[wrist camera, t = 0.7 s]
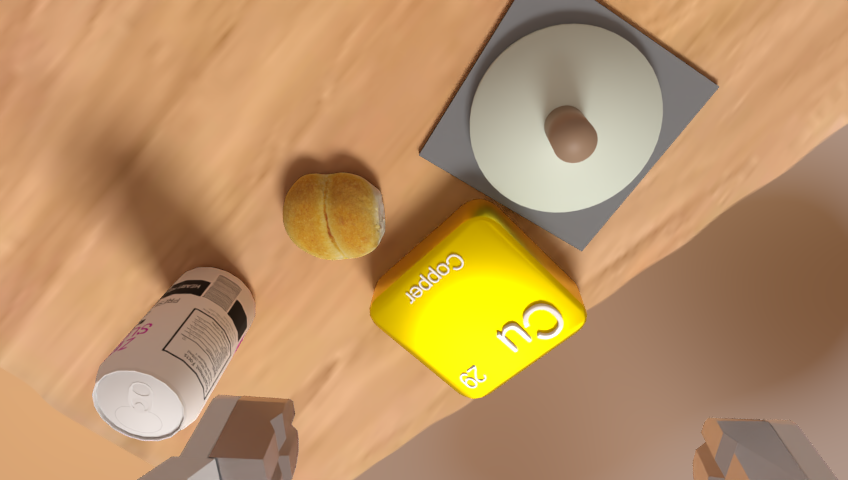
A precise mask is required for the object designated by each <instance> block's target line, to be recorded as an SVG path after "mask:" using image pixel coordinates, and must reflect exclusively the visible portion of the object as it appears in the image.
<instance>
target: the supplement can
mask: <svg viewBox="0 0 848 480" xmlns="http://www.w3.org/2000/svg"><path fill="white" fill-rule="evenodd" d="M254 317H255V301H254V299H253V296H252V294H251V292H250V290H249V289H248V288H247V287H246V286H245V284H244V283H243V282H242V281H241V280H240V279H238V278H237V277H235V276H234V275H232V274H230V273H229V272H227V271H224V270H220V269H217V268H214V267H197V268H195V269H192V270H189V271H187V272H185V273H184V274H183V275H182V276H181V277H180V278H179V279H178V280H177V281H176V282H175V283H174V284H173V285H172V286H171V287H170V288H169V290H168V291H167V292H166V293H165V294H164V295H163V296H162V297H161V298H160V300H159V301H158V302H157V303H156V304H155V305H154V306H153V307H152V308H151V310H150V311H149V312H148V313H147V314H146V315H145V316H144V317H143V318H142V319H141V321H140V322H139V323H138V324H137V325H136V326H135V327H134V328H133V329H132V331H131V332H130V333H129V334H128V335H127V336H126V337H125V338H124V339H123V341H122V342H121V343H120V344H119V345H118V346H117V347H116V348H115V349H114V351H113V352H112V353H111V354H110V355H109V356H108V357H107V358H106V359H105V361H104V362H103V363H102V364H101V365H100V367H99V370H98V373H97V376H96V382H95V387H94V390H93V394H92V396H93V401H94V407H95V408H96V410H97V412H98V413H99V415H100V416H101V418H102V419H103V420H104V421H105V422H106V423H107V424H109V425H110V426H111V427H112V428H113V429H115V430H116V431H118V432H120V433H122V434H124V435H126V436H128V437H131V438H135V439H139V440H143V441H160V440H163V439H167V438H170V437H172V436H173V435H174V434H176V433H177V432H178V431H180V430H182V429H184V428H186V427H187V426H188V425H190V424H191V423H192V422H193V421H195V420H196V419H197V417H198V415H199V413H200V412H201V410H202V408H203V407H204V405H205V403H206V401H207V400H208V398H209V396H210V395H211V393H212V391H213V389H214V388H215V386H216V384H217V383H218V381H219V379H220V377H221V376H222V374H223V372H224V371H225V369H226V367H227V365H228V364H229V362H230V360H231V359H232V357H233V355H234V354H235V352H236V350H237V348H238V347H239V345H240V343H241V342H242V340H243V338H244V336H245V335H246V333H247V331H248V330H249V328H250V326H251V324H252V322H253V320H254Z"/></svg>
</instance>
